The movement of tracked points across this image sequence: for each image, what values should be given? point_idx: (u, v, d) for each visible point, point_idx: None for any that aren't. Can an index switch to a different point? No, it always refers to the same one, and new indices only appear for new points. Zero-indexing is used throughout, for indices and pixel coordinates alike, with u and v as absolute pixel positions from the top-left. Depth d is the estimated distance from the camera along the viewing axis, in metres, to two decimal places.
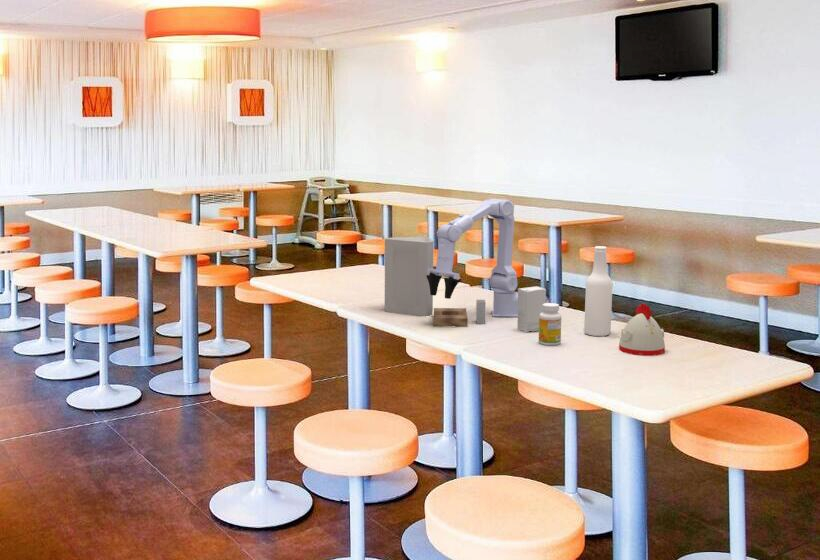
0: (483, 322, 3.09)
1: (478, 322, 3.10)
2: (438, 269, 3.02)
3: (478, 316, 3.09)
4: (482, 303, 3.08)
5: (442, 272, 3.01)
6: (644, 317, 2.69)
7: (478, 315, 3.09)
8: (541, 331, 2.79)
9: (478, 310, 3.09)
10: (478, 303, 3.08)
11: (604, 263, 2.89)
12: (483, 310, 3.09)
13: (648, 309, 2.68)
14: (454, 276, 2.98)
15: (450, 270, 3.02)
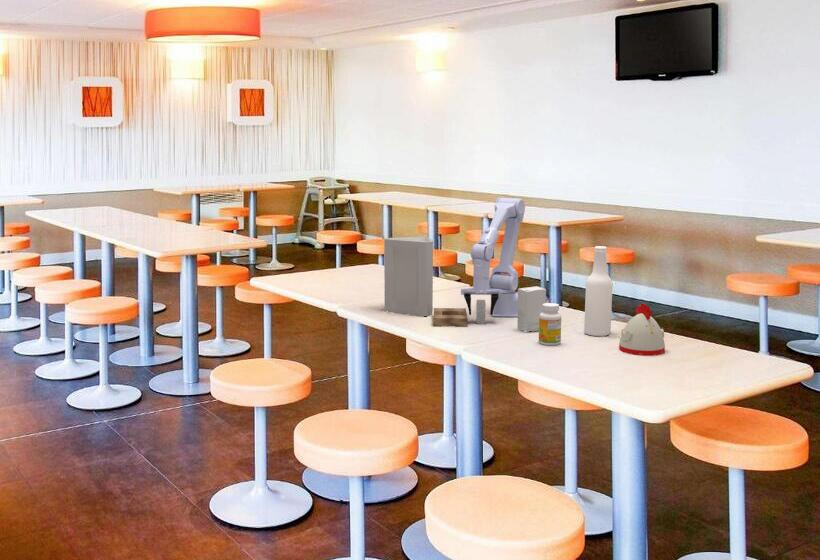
0: (483, 322, 3.09)
1: (478, 322, 3.10)
2: (482, 289, 3.07)
3: (478, 316, 3.09)
4: (482, 303, 3.08)
5: (487, 291, 3.08)
6: (644, 317, 2.69)
7: (478, 315, 3.09)
8: (541, 331, 2.79)
9: (478, 310, 3.09)
10: (478, 303, 3.08)
11: (604, 263, 2.89)
12: (483, 310, 3.09)
13: (648, 309, 2.68)
14: (500, 293, 3.09)
15: None
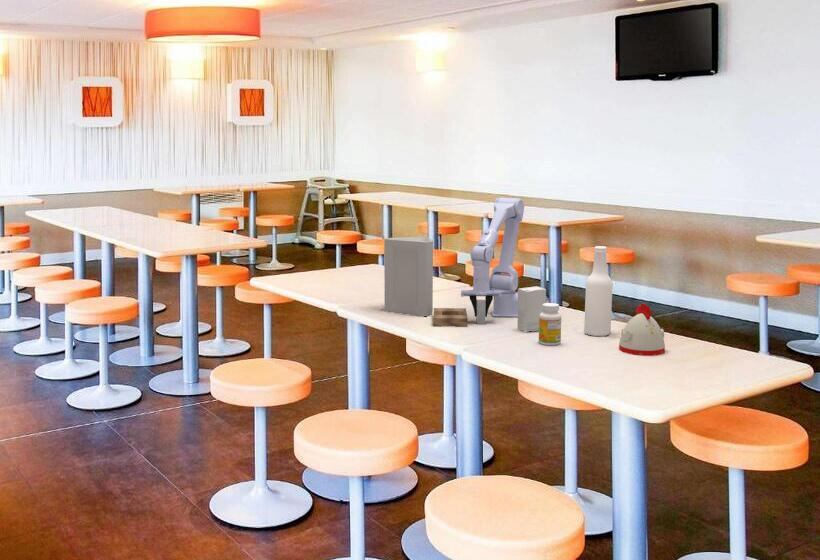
0: (483, 322, 3.09)
1: (478, 322, 3.10)
2: (482, 291, 3.07)
3: (478, 316, 3.09)
4: (482, 303, 3.08)
5: (487, 293, 3.08)
6: (644, 317, 2.69)
7: (478, 315, 3.09)
8: (541, 331, 2.79)
9: (478, 310, 3.09)
10: (478, 303, 3.08)
11: (604, 263, 2.89)
12: (483, 310, 3.09)
13: (648, 309, 2.68)
14: (500, 294, 3.09)
15: None
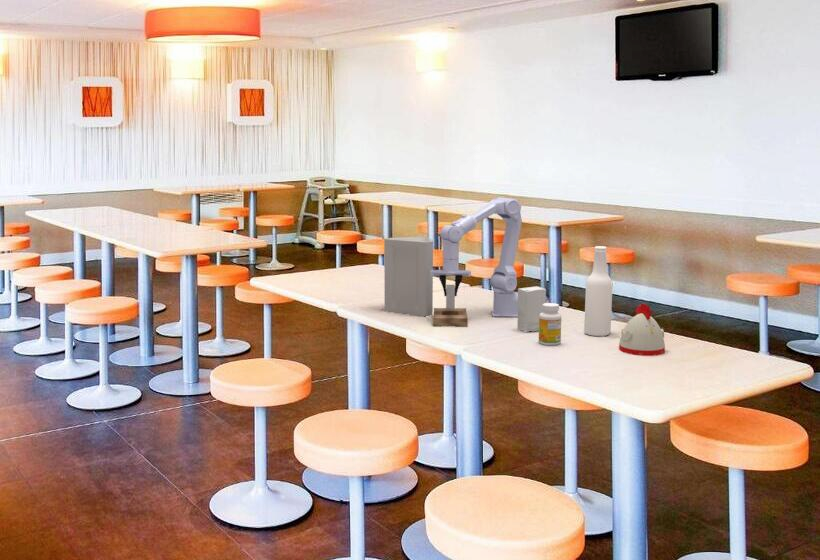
0: (452, 307, 3.11)
1: (447, 307, 3.11)
2: (451, 270, 3.08)
3: (447, 301, 3.11)
4: (451, 288, 3.10)
5: (456, 272, 3.09)
6: (644, 317, 2.69)
7: (447, 300, 3.10)
8: (541, 331, 2.79)
9: (447, 295, 3.10)
10: (447, 288, 3.10)
11: (604, 263, 2.89)
12: (452, 295, 3.10)
13: (648, 309, 2.68)
14: (469, 274, 3.10)
15: None
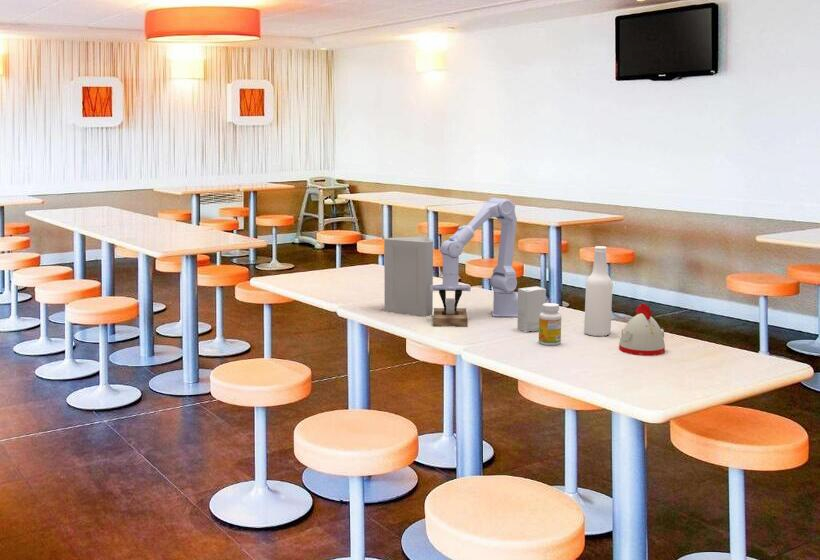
0: None
1: None
2: (451, 285, 3.09)
3: None
4: (451, 302, 3.11)
5: (456, 287, 3.10)
6: (644, 317, 2.69)
7: (447, 314, 3.11)
8: (541, 331, 2.79)
9: (447, 309, 3.11)
10: (447, 302, 3.11)
11: (604, 263, 2.89)
12: (452, 309, 3.11)
13: (648, 309, 2.68)
14: (469, 289, 3.11)
15: None
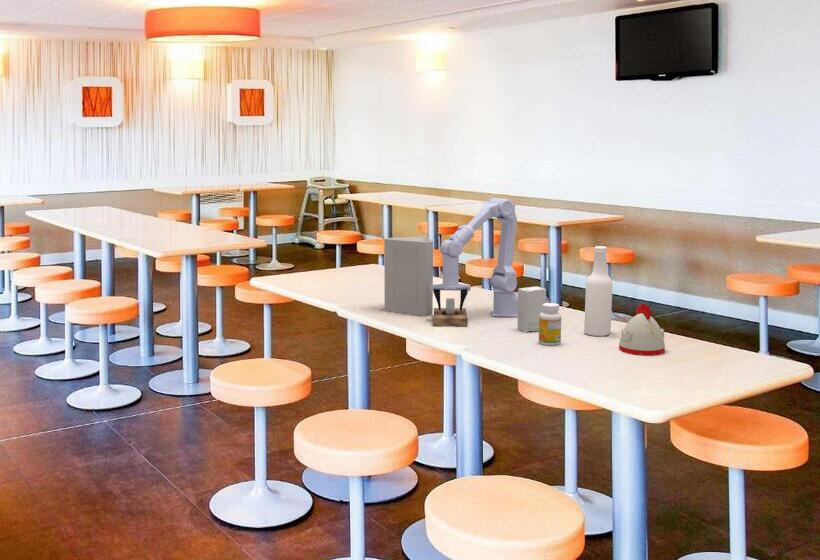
0: None
1: None
2: (451, 285, 3.09)
3: None
4: (451, 302, 3.11)
5: (456, 287, 3.10)
6: (644, 317, 2.69)
7: (447, 314, 3.11)
8: (541, 331, 2.79)
9: (447, 309, 3.11)
10: (447, 302, 3.11)
11: (604, 263, 2.89)
12: (452, 309, 3.11)
13: (648, 309, 2.68)
14: (469, 288, 3.11)
15: None
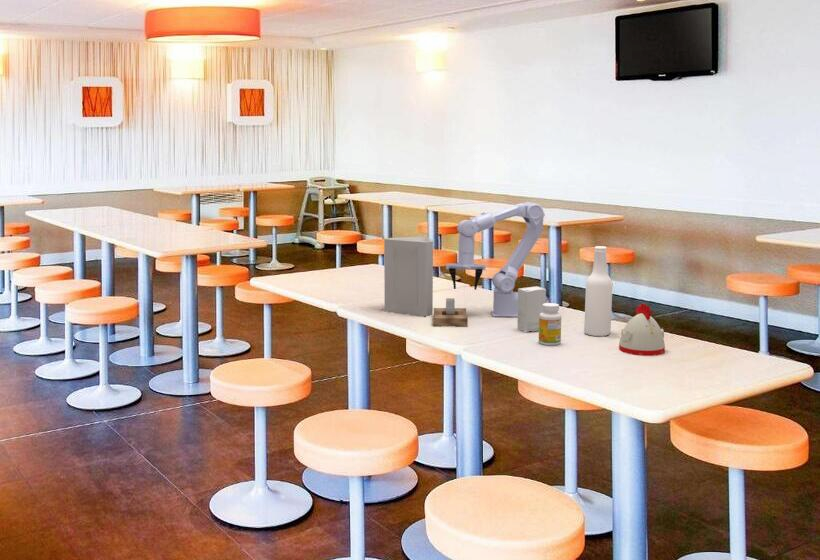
0: None
1: None
2: (466, 264, 3.17)
3: None
4: (451, 302, 3.11)
5: (471, 266, 3.17)
6: (644, 317, 2.69)
7: (447, 314, 3.11)
8: (541, 331, 2.79)
9: (447, 309, 3.11)
10: (447, 302, 3.11)
11: (604, 263, 2.89)
12: (452, 309, 3.11)
13: (648, 309, 2.68)
14: (484, 268, 3.19)
15: None
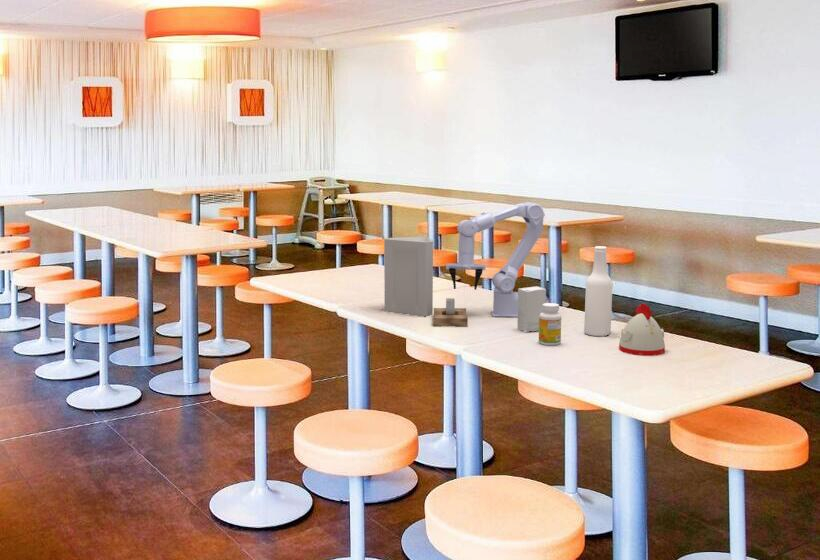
0: None
1: None
2: (466, 264, 3.17)
3: None
4: (451, 302, 3.11)
5: (471, 266, 3.17)
6: (644, 317, 2.69)
7: (447, 314, 3.11)
8: (541, 331, 2.79)
9: (447, 309, 3.11)
10: (447, 302, 3.11)
11: (604, 263, 2.89)
12: (452, 309, 3.11)
13: (648, 309, 2.68)
14: (484, 268, 3.19)
15: None
